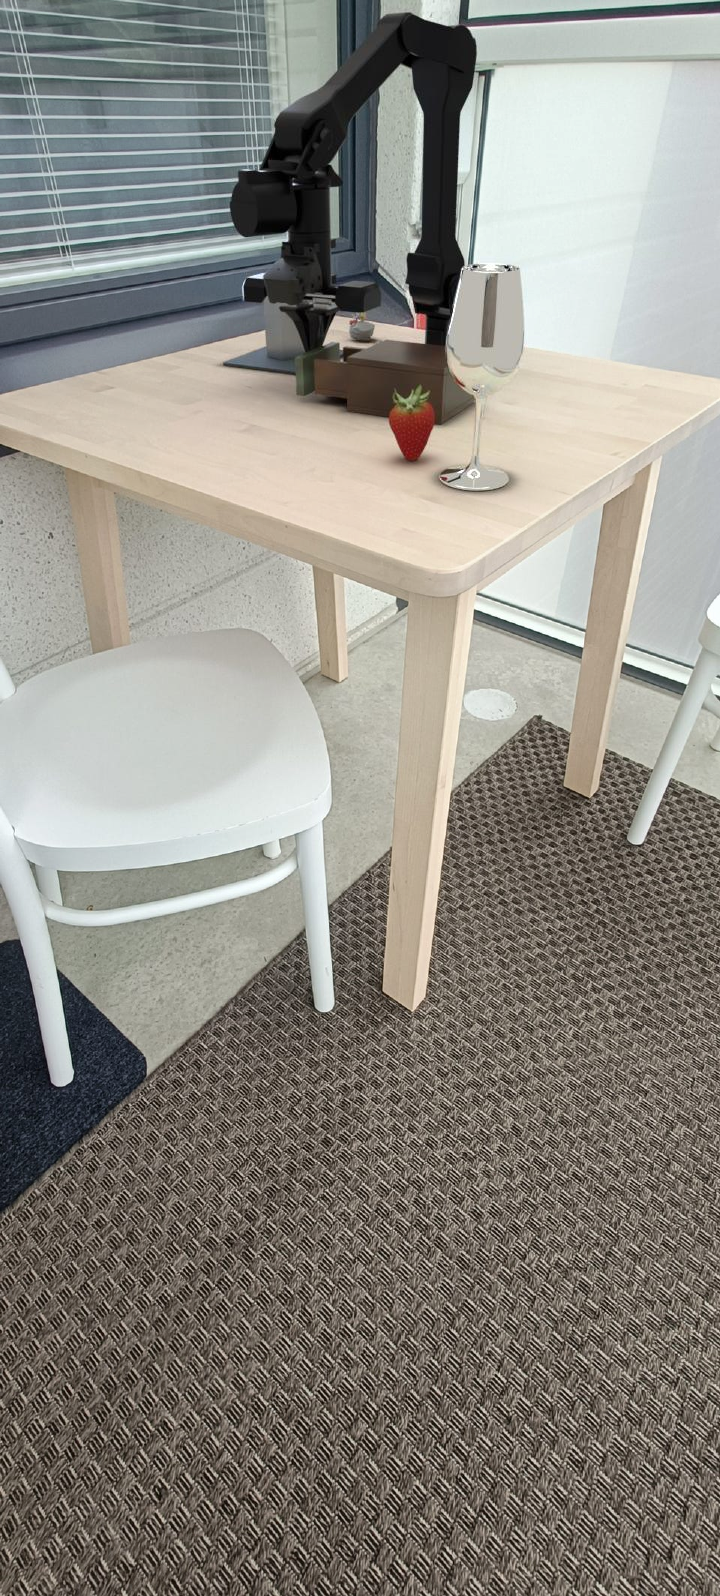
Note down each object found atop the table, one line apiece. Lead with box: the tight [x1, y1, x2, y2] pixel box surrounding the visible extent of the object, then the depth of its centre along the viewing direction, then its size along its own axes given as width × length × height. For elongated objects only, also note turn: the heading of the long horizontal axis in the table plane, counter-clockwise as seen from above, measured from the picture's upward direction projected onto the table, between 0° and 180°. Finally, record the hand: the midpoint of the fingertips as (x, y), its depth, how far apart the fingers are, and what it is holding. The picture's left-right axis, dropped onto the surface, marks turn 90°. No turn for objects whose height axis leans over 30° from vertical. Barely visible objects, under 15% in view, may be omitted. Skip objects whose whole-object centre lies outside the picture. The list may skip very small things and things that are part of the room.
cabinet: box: [346, 339, 475, 425], centre depth 116 cm, size 14×12×7 cm
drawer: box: [295, 341, 367, 399], centre depth 119 cm, size 14×10×5 cm
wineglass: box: [438, 262, 525, 492], centre depth 89 cm, size 8×8×20 cm
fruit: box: [388, 384, 435, 462], centre depth 98 cm, size 5×5×8 cm
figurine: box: [348, 311, 376, 342], centre depth 148 cm, size 5×4×6 cm
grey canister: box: [262, 296, 305, 361], centre depth 136 cm, size 6×4×11 cm
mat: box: [222, 346, 343, 376], centre depth 139 cm, size 16×14×1 cm
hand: (313, 362), depth 123 cm, fingers closed
